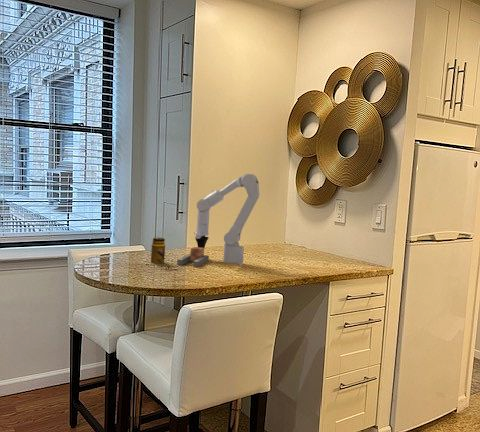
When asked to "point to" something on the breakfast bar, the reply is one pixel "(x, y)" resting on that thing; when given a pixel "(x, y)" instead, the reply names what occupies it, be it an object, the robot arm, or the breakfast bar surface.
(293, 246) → the breakfast bar surface
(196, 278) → the breakfast bar surface
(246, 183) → the robot arm
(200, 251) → the block
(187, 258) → the chute
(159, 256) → the condiment
